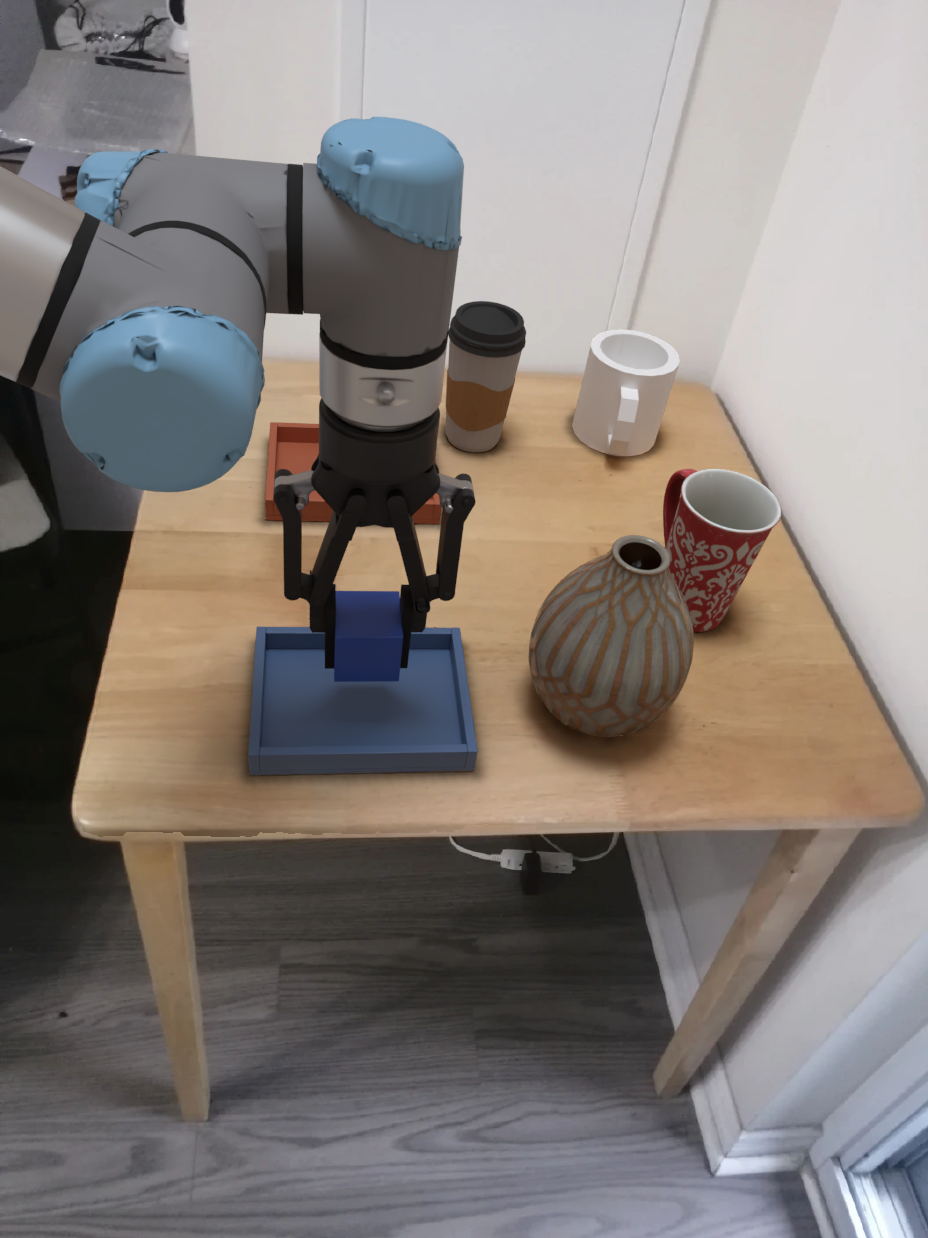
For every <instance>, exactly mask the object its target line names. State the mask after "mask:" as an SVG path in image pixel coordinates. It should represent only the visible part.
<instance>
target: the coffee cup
mask: <svg viewBox="0 0 928 1238" xmlns="http://www.w3.org/2000/svg"><path fill="white" fill-rule="evenodd" d="M526 337H527V330H526V327H525V319H524V317H523V316H522V314H520V312H518V311H517V310H516V309H514V308H512V307H511V306H508V305H506V304H503V303H499V302H494V301H488V300H486V301H485V300H477V301H470V302H466V303H464V304H462V305H460V306H458V308H457V309H456V310H455V313H454V315H453V317H452V318H451V319H450V325H449V332H448V342H449V343H448V361H447V362H448V363H447V367H448V368H447V370H446V387H445V426H444V431H445V435H446V437H447V439H448V442H449V443H450V444H451V445H452V446H453V447H455V448H457V449H458V450H461V451H463V452H468V453H484V452H487V451H491V450H492V449H493V448H495V446H496V445H497V444H498V442H499V441H500V438H501V435H502V431H503V427H504V423H505V419H506V417H507V414H508V411H509V406H510V402H511V398H512V393H513V391H514V386H515V383H516V375H517V371H518V367H519V363H520V358H521V354H522V351H523V350H524V349H525V347H526V343H527V341H526V340H527V339H526Z"/></svg>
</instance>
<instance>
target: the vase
mask: <svg viewBox="0 0 928 1238" xmlns="http://www.w3.org/2000/svg"><path fill="white" fill-rule="evenodd" d="M669 565H670V555H669V553H668V551H667V550H666V549H665V545H662V544H661V543H660V542H659V541H657V540H655V539H653V538H652V537H651V538H650V537H648V536H644V535H639V534H630V535H629V534H628V535H624V536H621V537H619V538H617V539H616V540H615V541H614V542H613V544H612V546H611V549H610V550H609V551H608V552H606V553H604V554H602V555H600V556H596V557H595V558H592V559H590V560H588V561H586V562H585V563H583V564H580V566H577V567H576V568H575V569H573V570H572V571H570V572H569V573H567V574H566V575H565V576H564V577H563V578H562V579H561V580H559V582H558V583H557V584H556V585H555V586H554V587H553V588H552V589H551V591H550V592H549V593H547V596H546V597H545V599H544V601H543V602H542V604H541V606H540V607H539V609H538V611H537V614H536V617H535V619H534V622H533V626H532V629H531V632H530V638H529V645H528V667H529V671H530V676H531V680H532V683H533V686H534V689H535V691H536V693H537V695H538V697H539V699H540V701H541V702H542V703H543V705H544V706H545V708H546V709H547V710H548V712H549V713H551V715H553V716H554V717H555V718H556V719H557V720H558V721H560V722H561V723H562V724H563V725H564V726H567V727H568V728H571V729H572V730H574V731H576V732H579V733H582V734H585V735H589V736H594V737H599V738H615V737H621V736H625V735H630V734H633V733H637V732H638V731H641V730H643V729H645V728H647V727H648V726H650V725H652V724H653V723H654V722H656V721H657V720H659V719H660V718H661V717H662V716H663V715H664V714H665V713H667V711H668V710H670V708H671V707H672V705H674V703H675V701H676V700H677V699H678V697H679V695H680V694H681V691H682V690H683V688H684V685H685V684H686V681H687V680H688V679H687V678H688V676H689V672H690V671H691V670H690V669H691V666H692V663H693V658H694V649H695V646H694V645H695V636H694V632H693V625H692V620H691V616H690V612H689V609H688V606H687V603H686V601H685V598H684V596H683V594H682V592H681V591H680V589H679V587H678V585H677V583H676V582H675V580H674V578H673V577H672V575H671V573H670V570H669Z"/></svg>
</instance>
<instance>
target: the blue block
mask: <svg viewBox="0 0 928 1238" xmlns="http://www.w3.org/2000/svg"><path fill="white" fill-rule="evenodd" d="M402 644H403V630H402V623H401V611H400V591H399V590H336V626H335V650H334V682H383V681H399V674H400V664H401V654H402Z"/></svg>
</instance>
